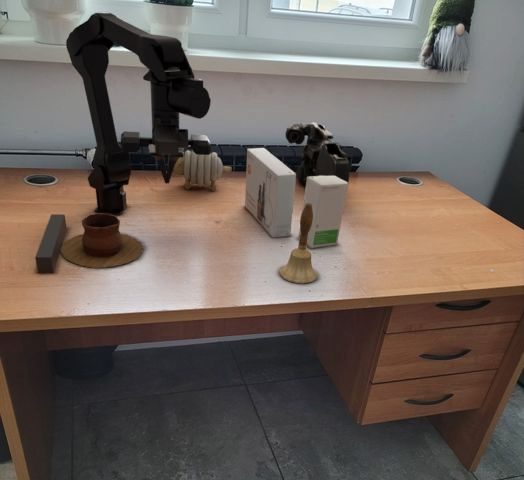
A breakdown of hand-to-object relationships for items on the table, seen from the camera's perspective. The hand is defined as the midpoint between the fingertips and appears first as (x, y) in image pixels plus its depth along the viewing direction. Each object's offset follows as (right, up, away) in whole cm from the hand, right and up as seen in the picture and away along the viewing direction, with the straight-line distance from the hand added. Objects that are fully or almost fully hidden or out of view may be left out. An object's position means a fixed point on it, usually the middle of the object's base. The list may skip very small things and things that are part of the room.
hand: (167, 182), depth 115 cm
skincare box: (+22, -3, +21) cm, 31 cm away
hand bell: (+29, -21, -2) cm, 36 cm away
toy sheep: (+3, +10, +37) cm, 38 cm away
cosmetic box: (+35, -11, +13) cm, 39 cm away
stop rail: (-25, -15, -3) cm, 29 cm away
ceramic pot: (-14, -15, -1) cm, 21 cm away
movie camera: (+38, +12, +44) cm, 59 cm away
